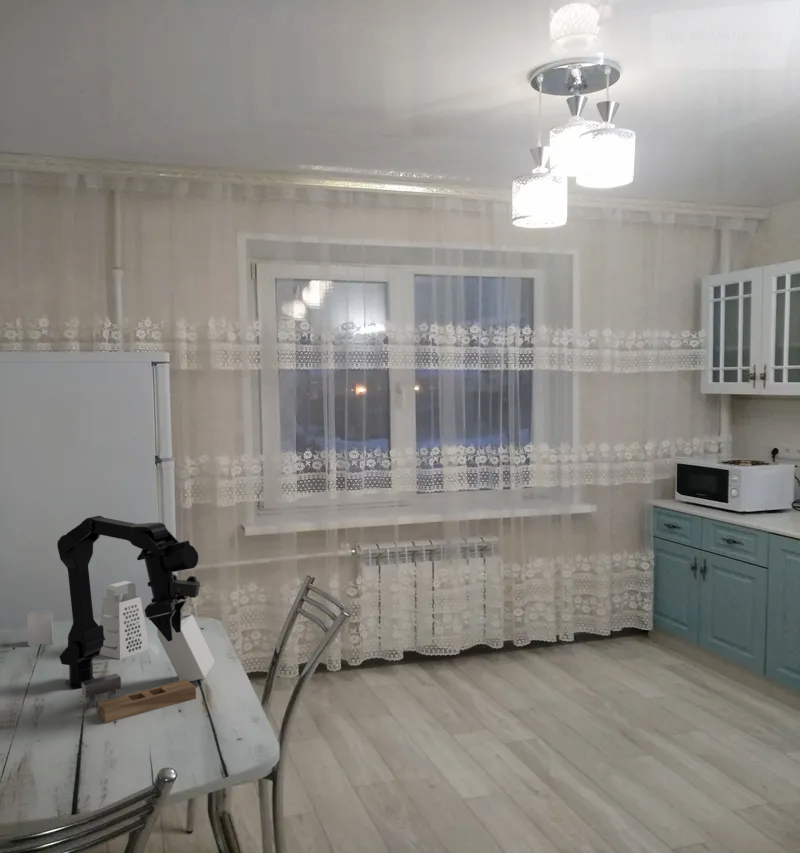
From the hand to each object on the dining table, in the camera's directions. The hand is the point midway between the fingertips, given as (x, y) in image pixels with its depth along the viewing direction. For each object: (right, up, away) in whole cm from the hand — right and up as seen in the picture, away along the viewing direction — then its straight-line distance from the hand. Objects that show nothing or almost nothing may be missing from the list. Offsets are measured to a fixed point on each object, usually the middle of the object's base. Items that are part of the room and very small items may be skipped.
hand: (174, 636), depth 192 cm
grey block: (-17, -16, -1) cm, 24 cm away
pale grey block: (-53, -14, +45) cm, 71 cm away
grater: (-26, -14, +37) cm, 47 cm away
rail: (-6, -16, -3) cm, 17 cm away
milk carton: (+3, -13, +13) cm, 19 cm away
